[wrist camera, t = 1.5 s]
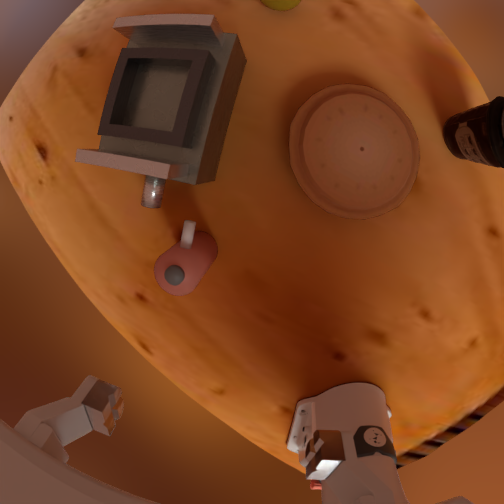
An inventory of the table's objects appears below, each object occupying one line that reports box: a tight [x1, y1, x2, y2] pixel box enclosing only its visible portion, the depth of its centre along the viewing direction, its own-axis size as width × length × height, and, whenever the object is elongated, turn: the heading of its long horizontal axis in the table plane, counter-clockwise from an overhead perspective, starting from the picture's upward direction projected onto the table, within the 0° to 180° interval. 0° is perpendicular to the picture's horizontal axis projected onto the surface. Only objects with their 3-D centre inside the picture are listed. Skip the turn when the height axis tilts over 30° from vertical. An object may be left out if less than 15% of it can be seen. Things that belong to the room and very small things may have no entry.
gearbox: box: [75, 14, 247, 208], centre depth 26 cm, size 20×12×13 cm, turn 166°
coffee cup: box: [444, 96, 504, 168], centre depth 22 cm, size 9×8×13 cm
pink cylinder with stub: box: [154, 220, 218, 296], centre depth 32 cm, size 8×5×10 cm, turn 166°
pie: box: [289, 84, 420, 219], centre depth 29 cm, size 16×16×5 cm
